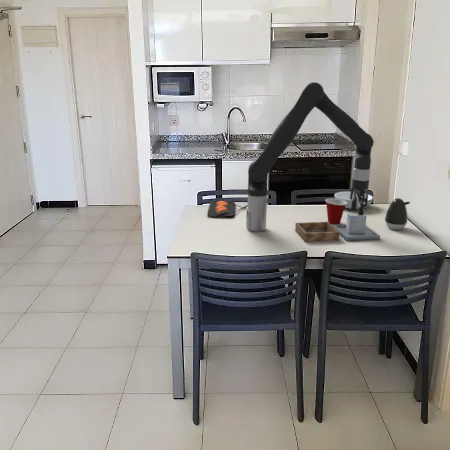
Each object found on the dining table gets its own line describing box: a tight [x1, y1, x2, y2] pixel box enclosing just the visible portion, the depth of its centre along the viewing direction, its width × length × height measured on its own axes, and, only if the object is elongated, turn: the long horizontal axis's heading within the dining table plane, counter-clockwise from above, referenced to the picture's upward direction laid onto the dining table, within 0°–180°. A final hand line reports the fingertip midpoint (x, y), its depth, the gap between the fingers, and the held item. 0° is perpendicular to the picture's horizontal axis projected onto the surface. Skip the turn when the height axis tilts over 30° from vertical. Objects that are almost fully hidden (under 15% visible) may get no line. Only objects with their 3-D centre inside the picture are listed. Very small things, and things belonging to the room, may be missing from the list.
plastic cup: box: [325, 197, 347, 226], centre depth 233 cm, size 11×11×12 cm
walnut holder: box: [294, 221, 340, 243], centre depth 216 cm, size 16×16×4 cm
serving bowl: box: [334, 191, 374, 210], centre depth 263 cm, size 21×21×7 cm
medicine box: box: [346, 213, 368, 234], centre depth 217 cm, size 8×4×9 cm, turn 94°
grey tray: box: [332, 223, 381, 242], centre depth 219 cm, size 16×18×2 cm
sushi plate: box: [207, 200, 248, 218], centre depth 255 cm, size 29×30×4 cm
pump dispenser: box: [384, 197, 411, 231], centre depth 225 cm, size 10×10×15 cm
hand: (357, 212), depth 216 cm, fingers open, 8 cm apart
